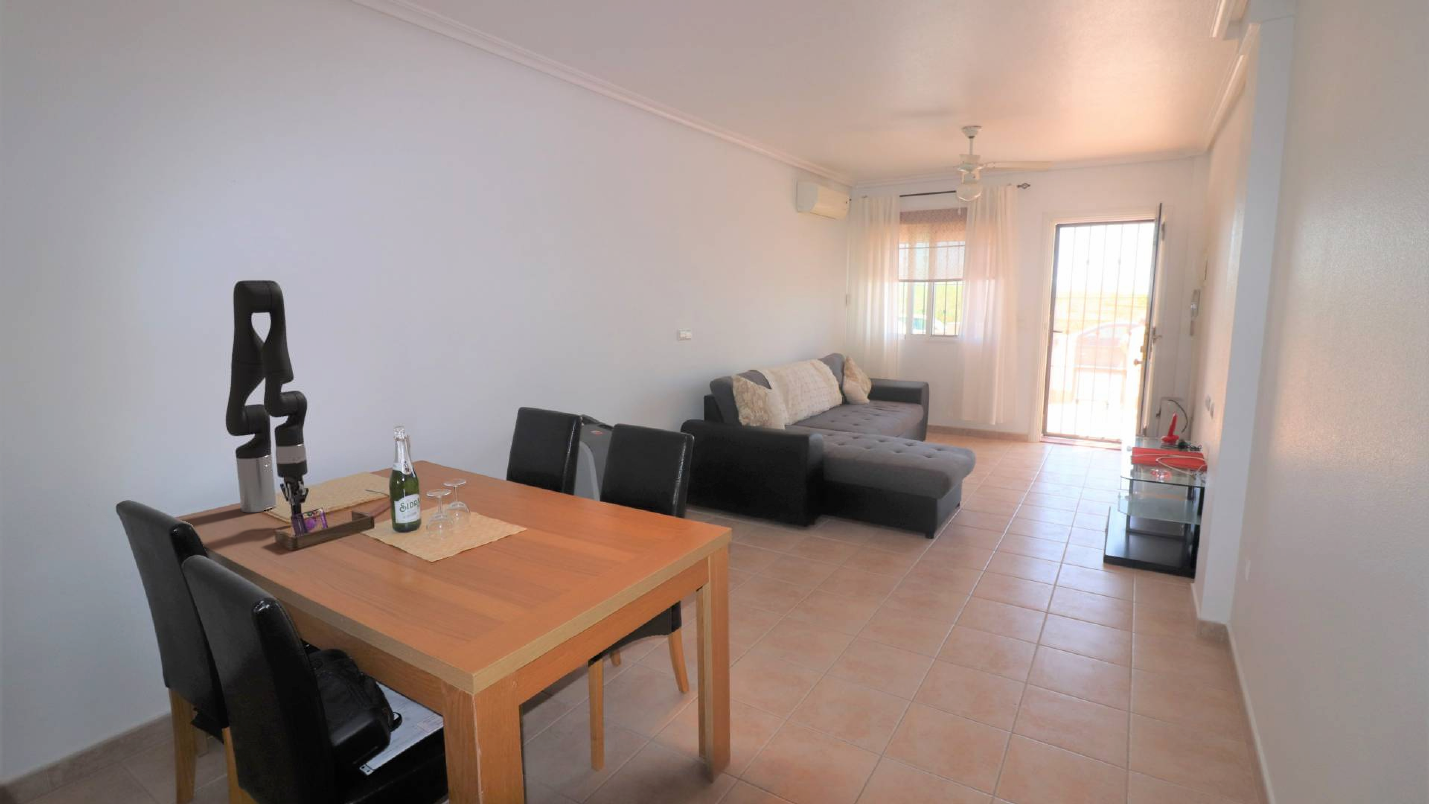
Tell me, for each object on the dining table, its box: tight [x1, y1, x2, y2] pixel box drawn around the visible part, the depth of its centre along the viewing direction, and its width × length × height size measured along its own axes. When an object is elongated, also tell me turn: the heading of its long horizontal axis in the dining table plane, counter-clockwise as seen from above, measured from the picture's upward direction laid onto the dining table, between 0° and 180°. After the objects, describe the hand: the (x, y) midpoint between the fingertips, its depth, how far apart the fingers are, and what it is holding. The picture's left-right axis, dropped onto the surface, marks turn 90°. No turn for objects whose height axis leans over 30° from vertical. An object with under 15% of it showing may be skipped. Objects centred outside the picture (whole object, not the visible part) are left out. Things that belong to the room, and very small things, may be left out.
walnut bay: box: [274, 509, 376, 551], centre depth 189 cm, size 10×22×4 cm, turn 146°
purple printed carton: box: [290, 507, 329, 536], centre depth 191 cm, size 7×5×9 cm
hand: (296, 516), depth 198 cm, fingers closed
